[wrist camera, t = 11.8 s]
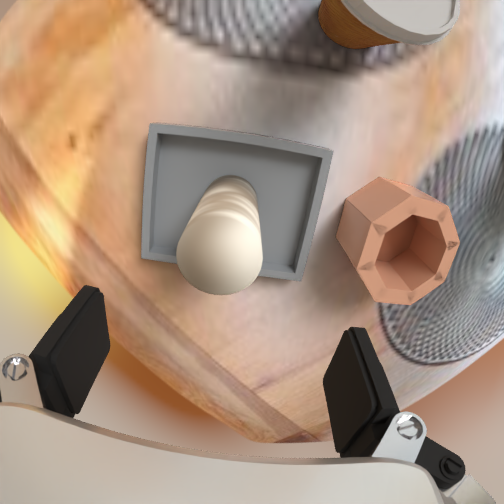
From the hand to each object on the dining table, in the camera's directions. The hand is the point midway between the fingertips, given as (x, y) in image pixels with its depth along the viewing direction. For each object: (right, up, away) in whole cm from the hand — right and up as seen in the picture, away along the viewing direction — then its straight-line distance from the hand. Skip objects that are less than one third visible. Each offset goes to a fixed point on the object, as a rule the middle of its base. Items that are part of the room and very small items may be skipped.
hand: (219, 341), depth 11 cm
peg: (-1, +8, +17) cm, 19 cm away
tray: (-1, +8, +18) cm, 20 cm away
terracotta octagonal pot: (+15, +6, +19) cm, 25 cm away
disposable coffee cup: (+10, +25, +11) cm, 29 cm away
